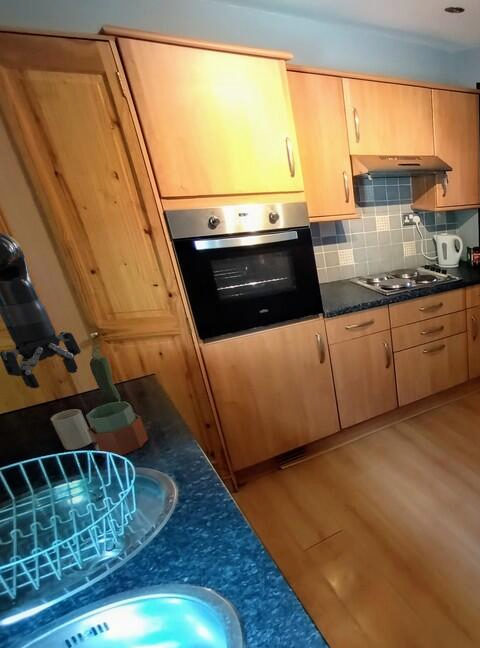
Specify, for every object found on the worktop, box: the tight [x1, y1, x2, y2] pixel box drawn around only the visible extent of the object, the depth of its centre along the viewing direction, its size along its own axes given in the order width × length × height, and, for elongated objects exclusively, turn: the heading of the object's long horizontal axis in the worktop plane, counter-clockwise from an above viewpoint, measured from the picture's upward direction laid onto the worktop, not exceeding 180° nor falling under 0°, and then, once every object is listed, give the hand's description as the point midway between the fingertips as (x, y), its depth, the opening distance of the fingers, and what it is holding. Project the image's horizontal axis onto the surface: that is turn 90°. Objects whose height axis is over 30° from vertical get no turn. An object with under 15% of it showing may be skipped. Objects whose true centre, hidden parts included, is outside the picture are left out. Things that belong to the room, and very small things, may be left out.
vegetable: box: [89, 343, 121, 403], centre depth 136 cm, size 4×4×20 cm
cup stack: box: [85, 401, 149, 458], centre depth 118 cm, size 10×10×11 cm
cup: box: [50, 408, 93, 451], centre depth 119 cm, size 6×6×9 cm
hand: (54, 379), depth 114 cm, fingers open, 8 cm apart
